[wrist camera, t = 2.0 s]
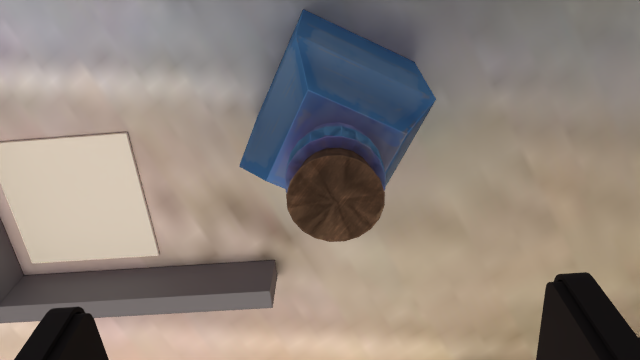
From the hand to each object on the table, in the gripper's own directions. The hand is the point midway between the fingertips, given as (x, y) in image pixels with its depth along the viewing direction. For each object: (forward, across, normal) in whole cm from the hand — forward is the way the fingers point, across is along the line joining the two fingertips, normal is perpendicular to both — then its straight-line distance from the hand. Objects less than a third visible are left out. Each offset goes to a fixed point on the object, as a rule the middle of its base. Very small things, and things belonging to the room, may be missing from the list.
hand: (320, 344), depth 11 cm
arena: (+19, +12, +4) cm, 23 cm away
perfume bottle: (+19, -1, 0) cm, 19 cm away
